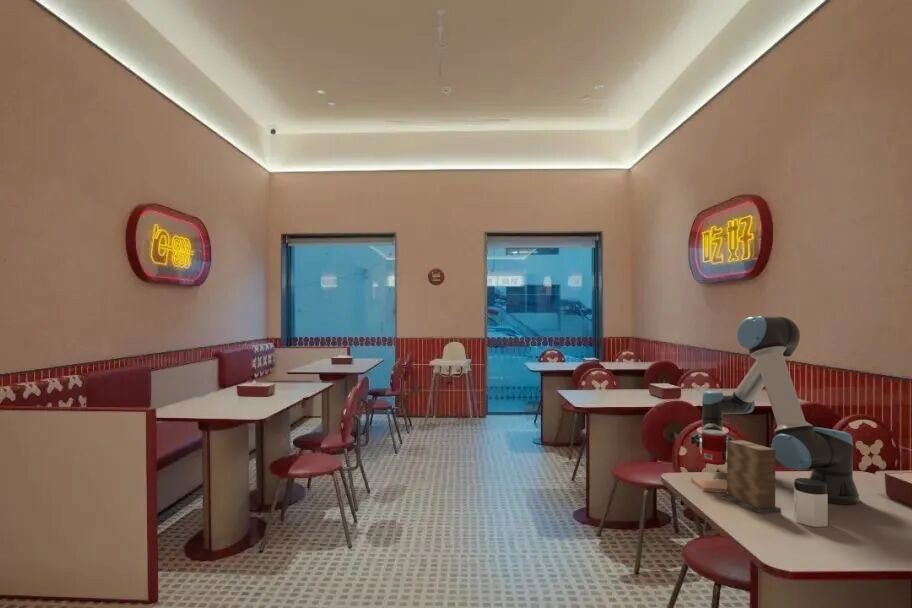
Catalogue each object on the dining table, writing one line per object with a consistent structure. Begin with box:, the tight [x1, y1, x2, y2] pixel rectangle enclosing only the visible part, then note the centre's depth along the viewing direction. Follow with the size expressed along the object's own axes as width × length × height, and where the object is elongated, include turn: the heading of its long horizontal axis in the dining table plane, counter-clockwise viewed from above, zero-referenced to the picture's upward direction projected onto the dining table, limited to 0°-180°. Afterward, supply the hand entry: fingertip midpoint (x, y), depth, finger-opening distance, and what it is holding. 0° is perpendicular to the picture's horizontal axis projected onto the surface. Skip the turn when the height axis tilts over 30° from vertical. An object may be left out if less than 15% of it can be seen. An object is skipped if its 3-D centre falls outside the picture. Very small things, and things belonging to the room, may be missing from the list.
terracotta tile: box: [690, 477, 727, 493], centre depth 200 cm, size 12×12×1 cm
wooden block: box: [722, 439, 781, 514], centre depth 182 cm, size 16×8×19 cm, turn 15°
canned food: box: [701, 429, 727, 466], centre depth 201 cm, size 8×8×11 cm
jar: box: [793, 477, 829, 528], centre depth 166 cm, size 9×8×12 cm
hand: (714, 446), depth 196 cm, fingers closed on canned food, 8 cm apart
